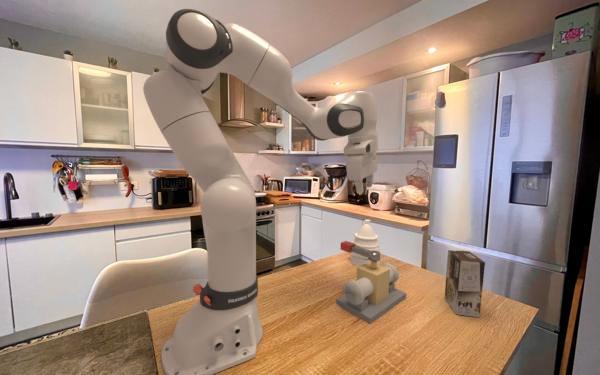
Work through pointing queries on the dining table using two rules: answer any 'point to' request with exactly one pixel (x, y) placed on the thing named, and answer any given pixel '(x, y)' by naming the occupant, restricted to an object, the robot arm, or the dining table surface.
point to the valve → (371, 291)
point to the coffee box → (464, 282)
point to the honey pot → (365, 244)
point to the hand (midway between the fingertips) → (364, 189)
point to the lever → (360, 251)
